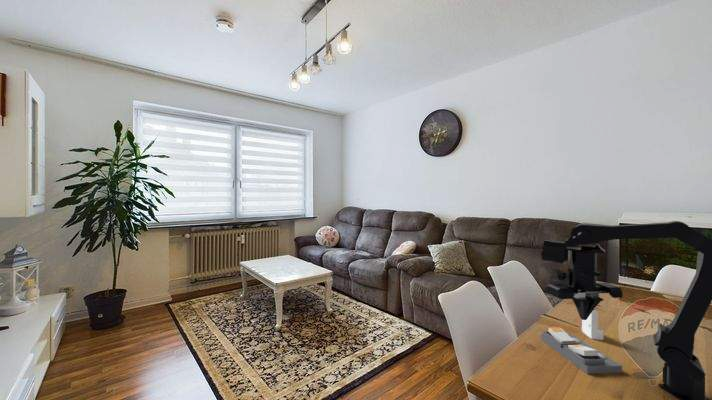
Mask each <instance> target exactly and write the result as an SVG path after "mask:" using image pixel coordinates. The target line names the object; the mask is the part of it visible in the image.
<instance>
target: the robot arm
mask: <svg viewBox="0 0 712 400" xmlns="http://www.w3.org/2000/svg"><path fill="white" fill-rule="evenodd" d="M662 238H663V239H665V238H667V239H671V238H672V239H674V238H675V239H677V240H679V241H681V242H682V243H684V244H686V245H688V246H690V247H691V248H692V249H694V250H695V251H697V257H696V266H695V269H696V270H695V273H694V274H695V275H694V276H693V278H692V280H691V282H690V284H689V286H688V289H687V291H686V292H685V294H684V296H683V299H682V301H681V302H680V305H679V307H678V309H677V311H676V313H675V316H673V317H674V318H673V319H672V321H671V322H670V323H668V325H667V326H666V325H664V324H662V323H658V327H657V330H656V332H655V333H654V334H653V335H652V337H653V343H654V346H655V348H656V351H657V355H658V356H659V358H661V360H662V361H664V362H663V363H664V364H663V367H662V383H658V384H657V386H658V387H659V388H661V389H663V390H664V391H666V392H667V393H670V395H672V396H674V397H676V398H677V399H678V400H711V398H709V397H707V396H706V375H707V374H706V373H705V369H704V368H703V366H702V364H701V362H700V361H701V360H700V359H699V357H697V356H696V355H695V354H694V349H695V338H696V337H695V334H696V332H697V331H698V329H699V326H700V325H701V323H702V321H703V319H704V317H705V315H706V313H707V311H708V310H709V308H710V305H711V303H712V238H710V237H709V236H706V235H705V234H703V233H701V232H699V231H697V230H695V229H694V228H692V227H690V226H689V225H688V224H686V223H685V222H682V221H679V220H671V221H668V222H665V221H664V222H651V223H650V222H649V223H634V224H633V223H632V224H618V225H617V224H616V225H615V224H613V225H609V224H598V223H587V222H585V223H584V222H583V223H579V224H577V225H576V226H574V227H573V228H572V229H571V232H570V237H569V238H566V239H565V240H564V241H558V240H555V241H554V240H550V239H545V240H543V244H542V248H541V249H542V250H541V256H540V257H541V260H542V262H546V263H551V264H552V263H553V264H561V265H565V264H566V262H570V257H571V267H568V268H567V271H566V272H562V270H561V269H554V270H552V271H551V278H552V280H553V281H555V282H556V281H557V283H548V284H547V286H546V293H547V294H549V295H552V296H553V297H555V298H557V299H560V300H572V302H573V304H574V305H575V307H576V311H577V313H578V316H579V318H580V319H581V321H582V320H586V319H587V318H588V317H589V315H590V314H591V312H592V311H593V310H595V309H596V307H597V306H598V305H599V304H600V303H602V302H604V298H603V297H600V294H609V296H610V297H611V298H614V299H621V298H623V290H622V288H621V287H620V286H617V285H614V284H611V283H608V282H597V277H600V276H601V272H600V271H597V267H598V265H597V264H598V263H597V259H598V258H597V255H598V254H601V255H602V254H603V255H604V254H605V253H606V249H604V248H603V247H601V245H600V244H599V243H602V242H603V243H604V242H608V241H613V240H633V239H634V240H638V239H662ZM593 244H595V245H594V246H593ZM578 245H581V246H580V247H575V246H578Z"/></svg>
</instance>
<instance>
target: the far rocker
mask: <svg viewBox="0 0 712 400" xmlns="http://www.w3.org/2000/svg"><path fill="white" fill-rule="evenodd" d="M547 331H548V332H549V333H550V334H551V335H552V336H553V337H554V338H555V339H556V340H558V341H559V342H561V343H574V340H573V339H572V338H571V337H570V336H569V335H568V334H567V333H568V332H566V331H565V330H564V329H563V328H561V327H548V330H547Z"/></svg>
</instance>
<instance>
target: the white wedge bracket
mask: <svg viewBox="0 0 712 400" xmlns="http://www.w3.org/2000/svg"><path fill="white" fill-rule="evenodd" d="M598 311H599V310H596V309H594V310H593V311H592V312H591V314H590V315H589V317H588V318H587V319H586V320H582V319H581V332H582V333H583V334H584V335H586V336H587V337H588V338H590V339H592V340H599V341H603V340H604V338H605V337H604V333H605V331H604V330H603V329H602V328H600V327H599V326H598V321H599V319H598V318H599V317H598V316H599V312H598Z"/></svg>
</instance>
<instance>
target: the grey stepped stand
mask: <svg viewBox="0 0 712 400" xmlns="http://www.w3.org/2000/svg"><path fill="white" fill-rule="evenodd" d="M566 333H567V334H568V335H569V336H570V337H571V338H572V339H573V340H574V343H561V342H559V341H558V340H556V339H555V338H554V337H553V336H552V335H551V334H550V333H549V332H548V330H546V331H544V330H543V331H542V333H540V340H541V341H542V342H544V343H545V344H546V345H547V346H549V347H550V348H552V349H553V350H554V351H556V352H557V353H559V355H561V356H563V358H565V359H567V360H568V361H569V362H570V363H572V365H575V366H576V367H578V368H579V369H580V370H581V371H582V372H584V373H585V374H587V375H595V374H622V373H623V365H621V364H620V363H618V362H617V361H615V360H613V359H612V358H610V357H609V356H607V355H606V354H604V353H602V352H601V351H599V350H597V348H594V347H593V346H592V345H589V344H588V343H586V342H584V341H583V340H581V339H579V338H578V337H577V336H574V335H573V334H571V333H570V332H566ZM568 345H583V346H586V347H589V348H592V349H595V350H597V352H598V356H583V355H581V354H578V353H575V352H574V351H572V350H571V349H569V348H568Z"/></svg>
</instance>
